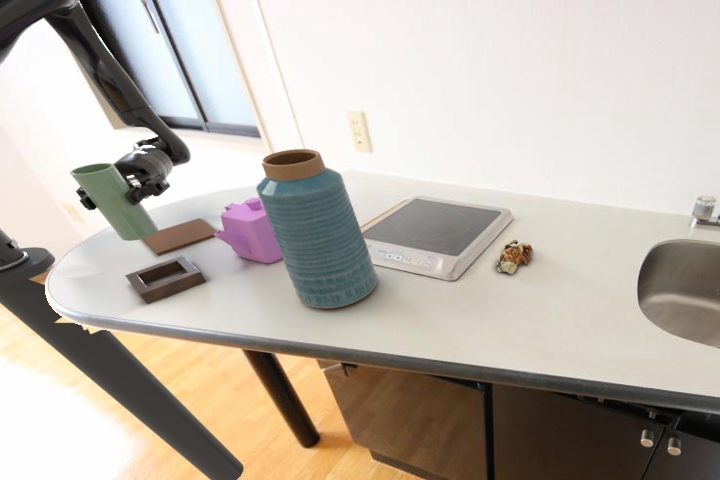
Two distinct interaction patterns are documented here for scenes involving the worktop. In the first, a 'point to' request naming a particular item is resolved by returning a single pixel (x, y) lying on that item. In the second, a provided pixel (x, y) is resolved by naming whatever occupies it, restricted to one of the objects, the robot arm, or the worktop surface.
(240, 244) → the teakettle
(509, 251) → the pastry
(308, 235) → the vase
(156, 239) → the mat
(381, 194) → the worktop surface
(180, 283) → the rectangular frame
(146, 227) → the cup
